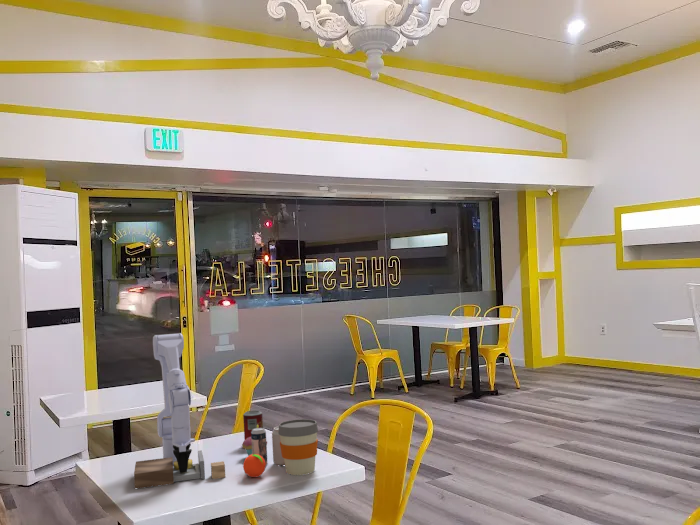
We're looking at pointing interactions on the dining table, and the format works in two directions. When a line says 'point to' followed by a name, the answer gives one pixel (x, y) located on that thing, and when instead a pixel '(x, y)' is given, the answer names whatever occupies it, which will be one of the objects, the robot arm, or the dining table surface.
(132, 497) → the dining table surface
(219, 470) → the block
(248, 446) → the cupcake
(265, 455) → the beer can
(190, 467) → the yellow flat dome
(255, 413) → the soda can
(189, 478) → the tray
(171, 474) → the housing
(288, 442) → the reusable coffee cup
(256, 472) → the clementine
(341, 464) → the dining table surface
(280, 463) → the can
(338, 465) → the dining table surface
